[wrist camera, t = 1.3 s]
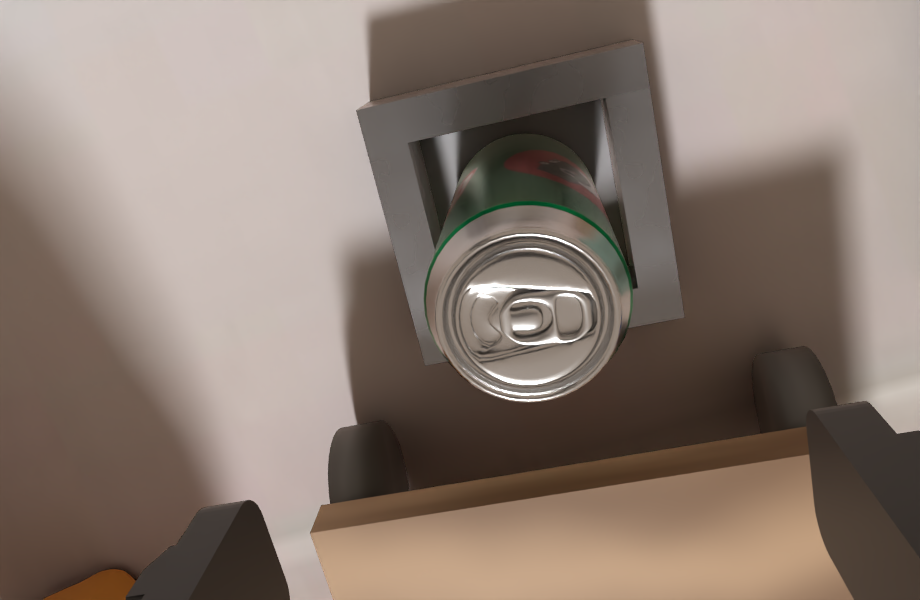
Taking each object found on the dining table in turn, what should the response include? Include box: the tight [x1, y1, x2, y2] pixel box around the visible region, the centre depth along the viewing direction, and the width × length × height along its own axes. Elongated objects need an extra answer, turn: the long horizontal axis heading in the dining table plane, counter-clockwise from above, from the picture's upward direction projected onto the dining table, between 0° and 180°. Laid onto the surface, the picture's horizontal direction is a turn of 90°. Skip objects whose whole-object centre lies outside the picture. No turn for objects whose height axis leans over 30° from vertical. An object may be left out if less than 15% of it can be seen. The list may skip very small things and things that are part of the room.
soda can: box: [423, 133, 633, 403], centre depth 24 cm, size 5×5×12 cm
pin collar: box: [356, 39, 685, 366], centre depth 29 cm, size 9×9×2 cm
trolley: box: [310, 346, 854, 600], centre depth 31 cm, size 14×18×7 cm
